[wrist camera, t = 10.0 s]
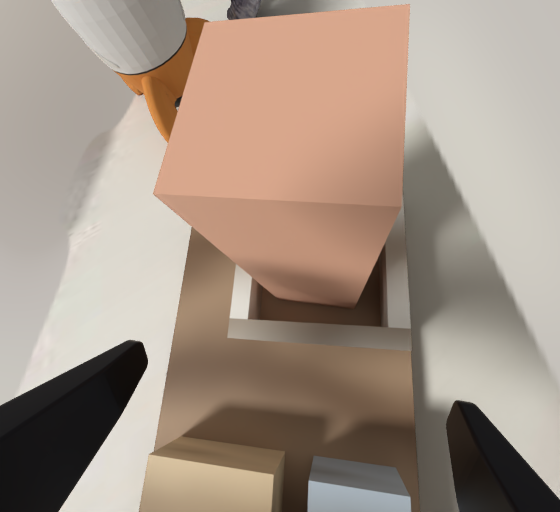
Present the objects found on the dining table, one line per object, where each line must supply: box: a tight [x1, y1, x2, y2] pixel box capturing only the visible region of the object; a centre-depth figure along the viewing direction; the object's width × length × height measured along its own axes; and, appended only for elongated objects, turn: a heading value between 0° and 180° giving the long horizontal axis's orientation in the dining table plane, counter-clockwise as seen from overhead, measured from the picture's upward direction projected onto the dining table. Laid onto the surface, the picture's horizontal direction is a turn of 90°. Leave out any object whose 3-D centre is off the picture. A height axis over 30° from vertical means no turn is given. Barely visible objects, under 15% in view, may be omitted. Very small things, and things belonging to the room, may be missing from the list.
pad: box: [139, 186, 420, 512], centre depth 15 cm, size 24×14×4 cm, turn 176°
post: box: [153, 4, 410, 309], centre depth 12 cm, size 4×4×13 cm
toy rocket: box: [51, 0, 209, 142], centre depth 20 cm, size 10×11×15 cm
